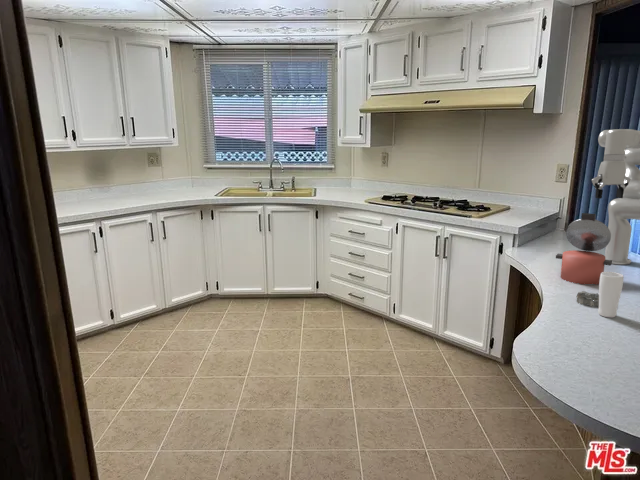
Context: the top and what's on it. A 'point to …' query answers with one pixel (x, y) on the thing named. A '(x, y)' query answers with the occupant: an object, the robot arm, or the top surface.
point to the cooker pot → (582, 266)
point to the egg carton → (588, 298)
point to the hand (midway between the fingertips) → (608, 198)
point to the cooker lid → (588, 233)
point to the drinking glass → (609, 293)
